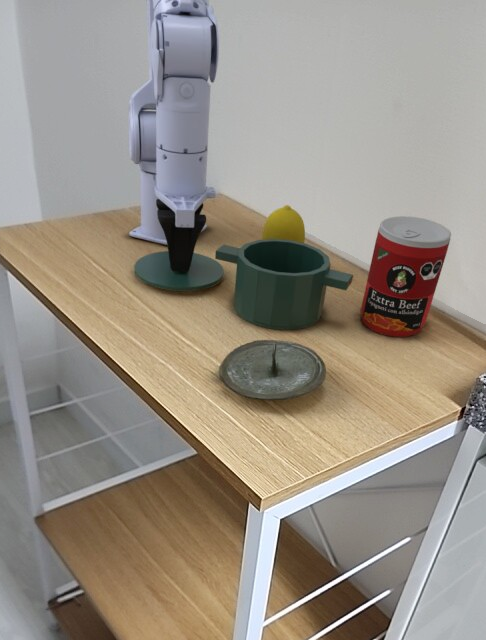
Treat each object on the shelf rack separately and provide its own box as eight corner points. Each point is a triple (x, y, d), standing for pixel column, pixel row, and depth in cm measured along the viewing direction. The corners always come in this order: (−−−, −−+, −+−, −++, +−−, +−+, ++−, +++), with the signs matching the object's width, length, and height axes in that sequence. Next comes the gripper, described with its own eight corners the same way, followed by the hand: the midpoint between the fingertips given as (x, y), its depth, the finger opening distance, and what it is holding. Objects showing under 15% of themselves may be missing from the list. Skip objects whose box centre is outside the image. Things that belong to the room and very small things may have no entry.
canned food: (352, 328, 74) (373, 232, 66) (366, 302, 79) (386, 210, 72) (419, 344, 72) (448, 247, 65) (427, 315, 78) (455, 224, 71)
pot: (233, 278, 82) (237, 227, 78) (352, 308, 78) (363, 256, 74) (198, 310, 74) (200, 255, 70) (328, 344, 70) (339, 289, 66)
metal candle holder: (337, 404, 64) (352, 357, 62) (275, 418, 57) (290, 365, 55) (260, 364, 70) (271, 320, 67) (195, 373, 63) (205, 323, 60)
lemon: (297, 278, 83) (306, 215, 78) (255, 271, 84) (262, 209, 79) (302, 262, 87) (311, 202, 82) (262, 256, 88) (269, 196, 83)
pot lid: (160, 252, 86) (160, 217, 83) (236, 271, 84) (239, 235, 81) (117, 282, 78) (116, 244, 75) (200, 303, 76) (202, 265, 73)
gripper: (225, 167, 66) (217, 291, 75) (211, 132, 77) (205, 244, 86) (156, 164, 65) (156, 290, 74) (152, 129, 76) (153, 243, 85)
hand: (179, 265), depth 80 cm, fingers closed on pot lid, 2 cm apart
